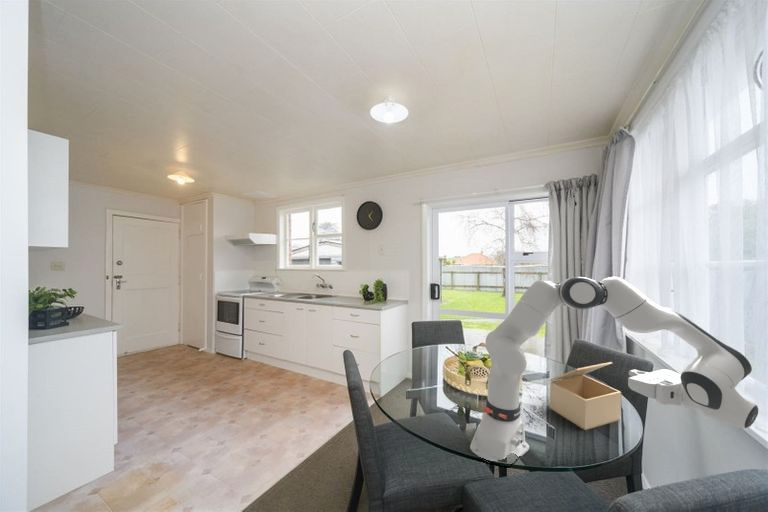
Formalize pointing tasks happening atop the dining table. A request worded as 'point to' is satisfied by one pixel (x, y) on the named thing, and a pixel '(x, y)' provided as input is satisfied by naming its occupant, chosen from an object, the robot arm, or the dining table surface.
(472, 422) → the dining table surface
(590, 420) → the carton
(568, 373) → the carton flap
